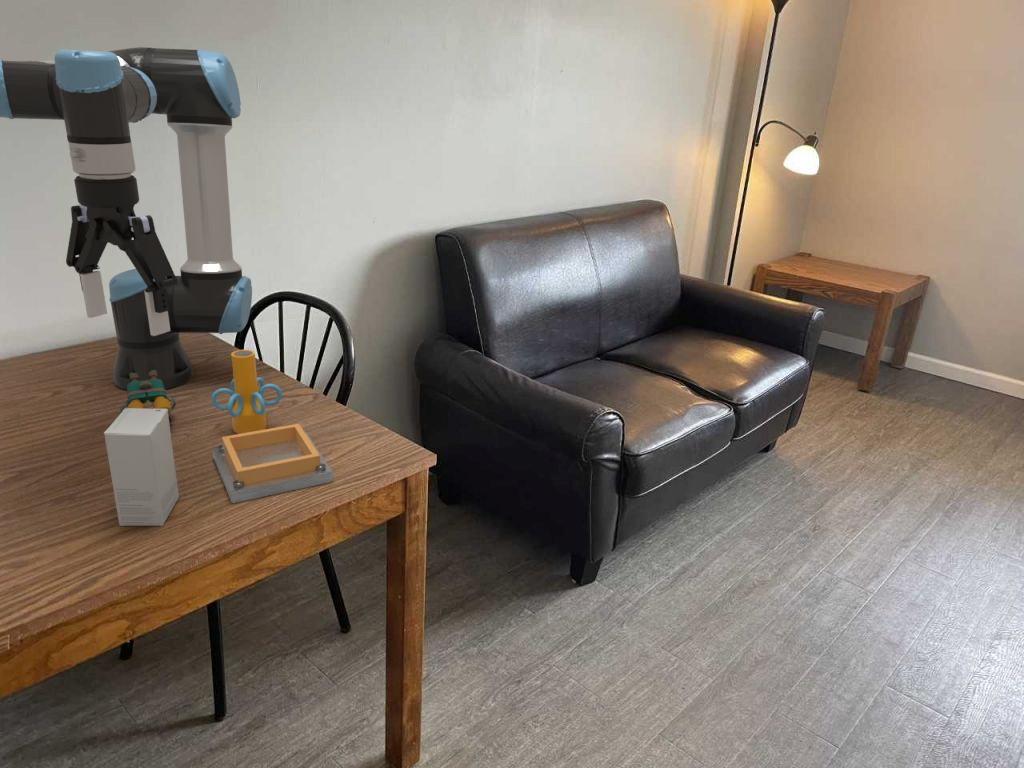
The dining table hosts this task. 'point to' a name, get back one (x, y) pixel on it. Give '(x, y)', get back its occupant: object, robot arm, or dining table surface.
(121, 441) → the skincare box
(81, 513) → the dining table surface
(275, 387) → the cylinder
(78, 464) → the dining table surface
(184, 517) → the dining table surface
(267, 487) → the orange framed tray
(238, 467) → the frame
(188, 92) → the robot arm
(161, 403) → the binoculars
